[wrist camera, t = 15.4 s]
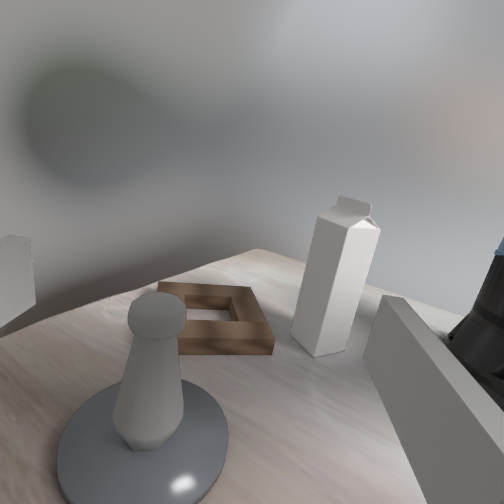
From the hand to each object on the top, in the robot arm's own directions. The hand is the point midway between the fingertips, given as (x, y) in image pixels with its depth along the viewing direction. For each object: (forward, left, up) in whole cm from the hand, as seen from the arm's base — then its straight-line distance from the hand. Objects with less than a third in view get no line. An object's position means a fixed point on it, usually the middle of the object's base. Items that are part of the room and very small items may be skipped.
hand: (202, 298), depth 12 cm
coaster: (+2, -11, -20) cm, 23 cm away
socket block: (-5, -31, -20) cm, 38 cm away
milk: (-21, -26, -20) cm, 40 cm away
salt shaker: (+2, -11, -19) cm, 23 cm away
